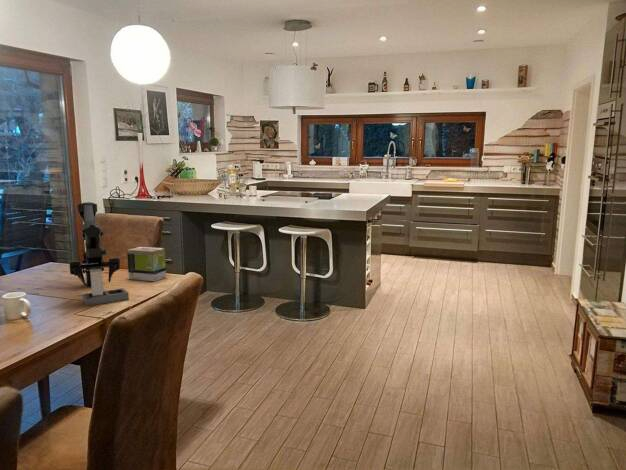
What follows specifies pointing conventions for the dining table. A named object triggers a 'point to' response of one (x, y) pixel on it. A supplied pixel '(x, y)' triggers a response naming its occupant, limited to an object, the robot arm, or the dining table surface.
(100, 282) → the grey tall block
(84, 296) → the grey compartment tray
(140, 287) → the dining table surface
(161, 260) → the tea box
